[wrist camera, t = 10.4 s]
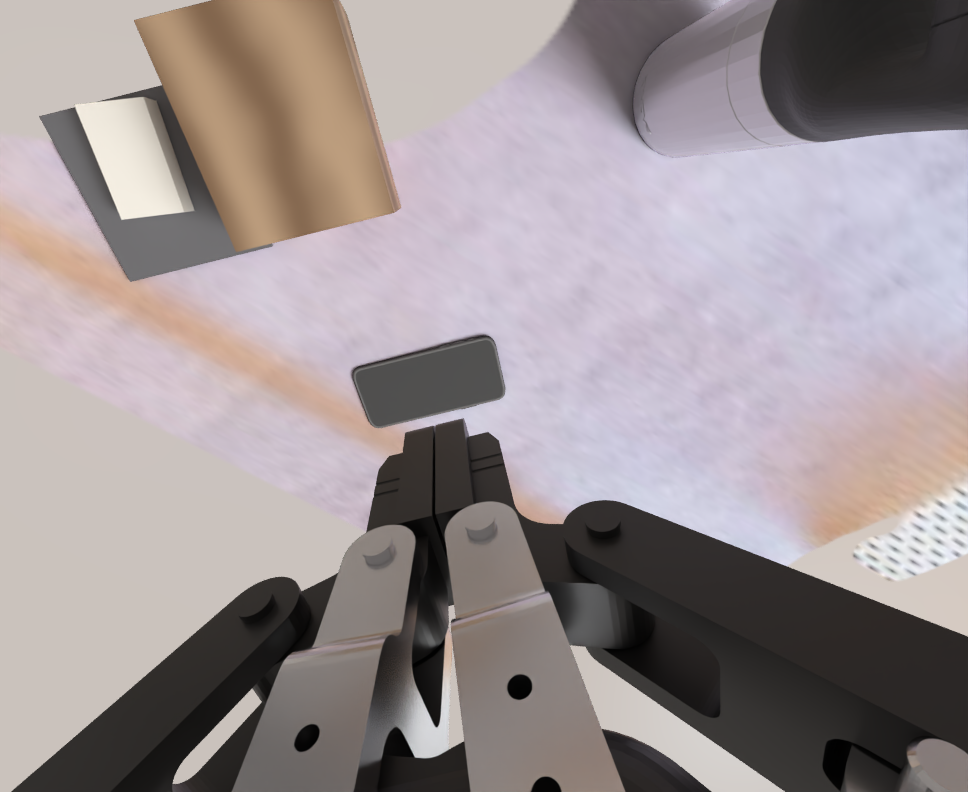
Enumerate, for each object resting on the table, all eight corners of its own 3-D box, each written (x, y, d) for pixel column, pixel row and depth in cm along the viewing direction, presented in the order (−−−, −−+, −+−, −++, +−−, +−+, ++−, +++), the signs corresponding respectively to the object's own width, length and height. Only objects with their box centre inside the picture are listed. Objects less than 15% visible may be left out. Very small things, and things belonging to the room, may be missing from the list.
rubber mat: (204, 76, 36) (201, 75, 36) (272, 245, 42) (271, 246, 41) (42, 117, 36) (39, 116, 36) (132, 281, 42) (130, 281, 42)
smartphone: (348, 369, 47) (493, 334, 47) (350, 366, 48) (492, 331, 47) (372, 431, 50) (508, 399, 50) (373, 427, 51) (507, 395, 51)
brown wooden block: (347, 14, 36) (324, -29, 28) (401, 207, 42) (394, 212, 34) (194, 53, 36) (133, 20, 28) (270, 240, 42) (236, 252, 34)
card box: (73, 104, 34) (92, 108, 36) (121, 219, 38) (135, 218, 40) (143, 96, 35) (157, 101, 36) (184, 212, 38) (195, 210, 40)
